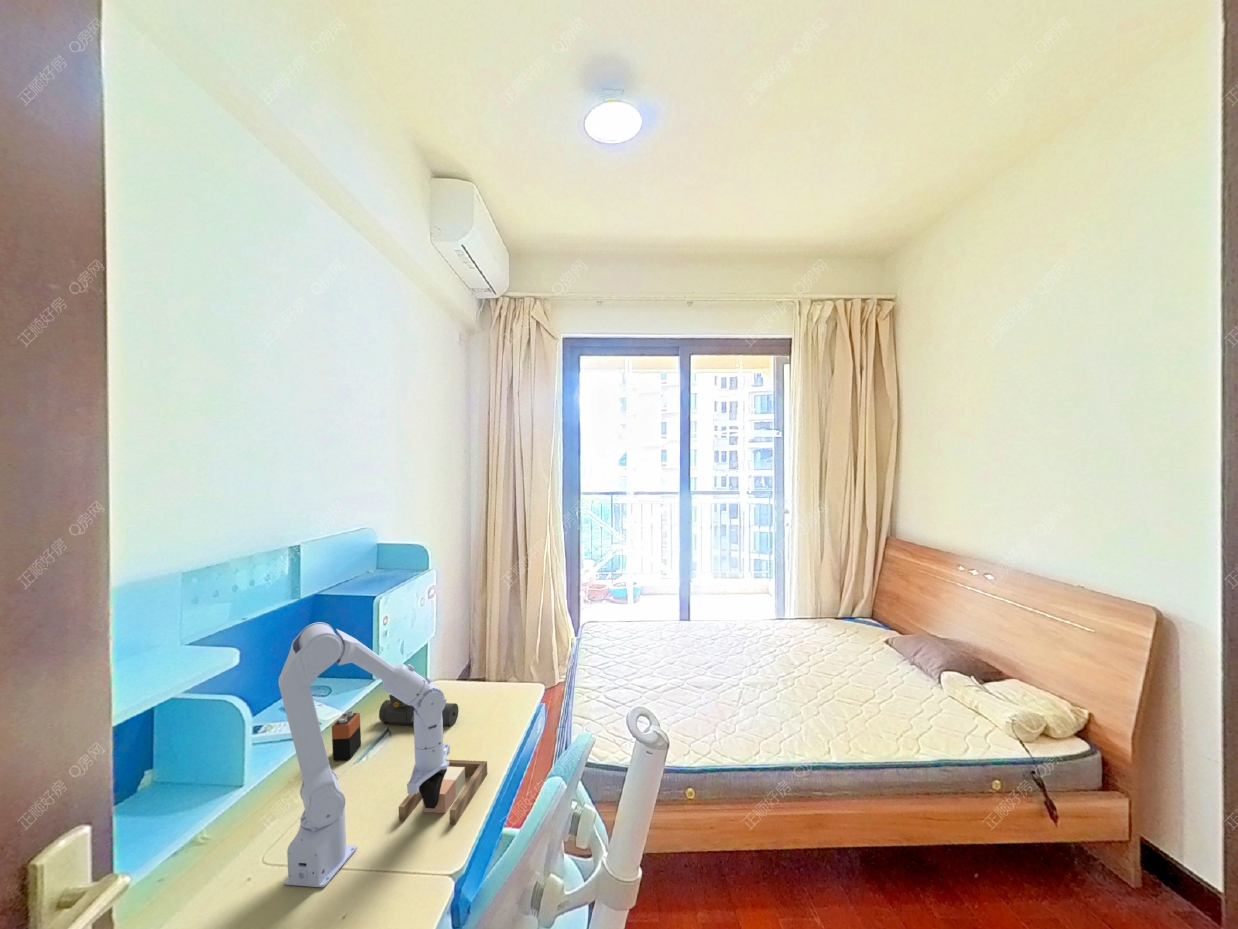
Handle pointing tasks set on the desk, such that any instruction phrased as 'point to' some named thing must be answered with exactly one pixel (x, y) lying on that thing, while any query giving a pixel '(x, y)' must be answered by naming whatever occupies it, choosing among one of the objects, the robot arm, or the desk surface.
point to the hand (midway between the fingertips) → (431, 806)
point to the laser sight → (411, 712)
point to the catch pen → (478, 775)
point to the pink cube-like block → (444, 797)
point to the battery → (346, 736)
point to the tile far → (456, 777)
